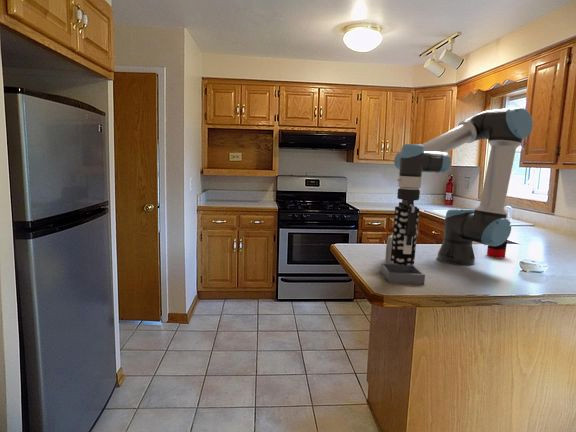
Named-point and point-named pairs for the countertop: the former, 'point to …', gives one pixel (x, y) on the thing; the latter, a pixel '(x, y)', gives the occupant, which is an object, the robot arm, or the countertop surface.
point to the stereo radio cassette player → (389, 250)
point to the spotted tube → (402, 238)
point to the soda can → (497, 250)
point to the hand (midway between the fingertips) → (403, 250)
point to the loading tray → (402, 274)
